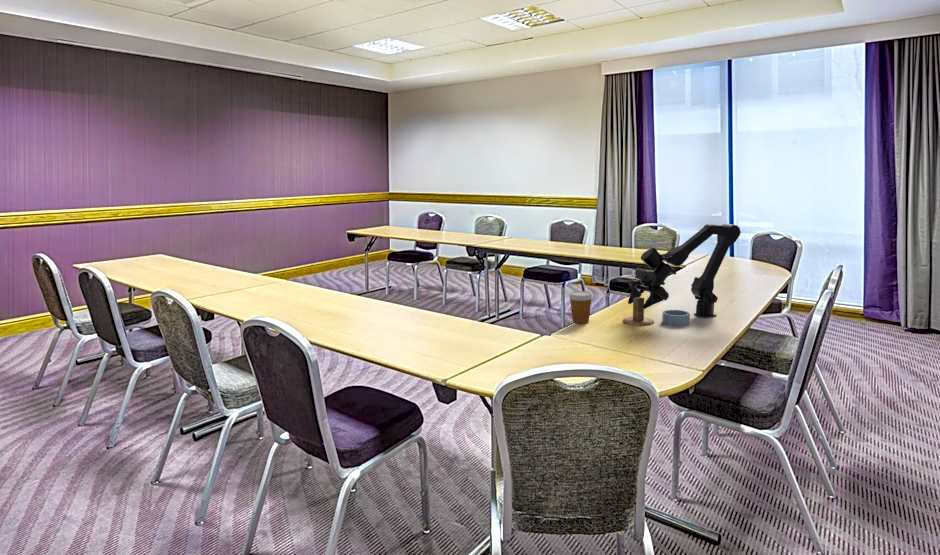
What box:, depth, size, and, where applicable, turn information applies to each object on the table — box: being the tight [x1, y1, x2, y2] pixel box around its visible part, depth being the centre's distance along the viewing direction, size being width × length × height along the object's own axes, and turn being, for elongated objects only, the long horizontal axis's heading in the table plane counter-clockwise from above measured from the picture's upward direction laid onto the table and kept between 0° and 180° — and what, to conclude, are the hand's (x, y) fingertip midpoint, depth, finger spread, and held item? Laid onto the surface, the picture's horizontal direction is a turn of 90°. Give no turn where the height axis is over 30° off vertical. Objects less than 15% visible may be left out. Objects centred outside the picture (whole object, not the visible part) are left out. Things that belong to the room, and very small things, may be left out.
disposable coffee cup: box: [568, 290, 594, 325], centre depth 242 cm, size 10×10×12 cm
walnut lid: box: [622, 296, 655, 327], centre depth 240 cm, size 12×12×10 cm
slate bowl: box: [661, 309, 691, 327], centre depth 237 cm, size 10×10×4 cm
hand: (635, 305), depth 239 cm, fingers open, 9 cm apart
